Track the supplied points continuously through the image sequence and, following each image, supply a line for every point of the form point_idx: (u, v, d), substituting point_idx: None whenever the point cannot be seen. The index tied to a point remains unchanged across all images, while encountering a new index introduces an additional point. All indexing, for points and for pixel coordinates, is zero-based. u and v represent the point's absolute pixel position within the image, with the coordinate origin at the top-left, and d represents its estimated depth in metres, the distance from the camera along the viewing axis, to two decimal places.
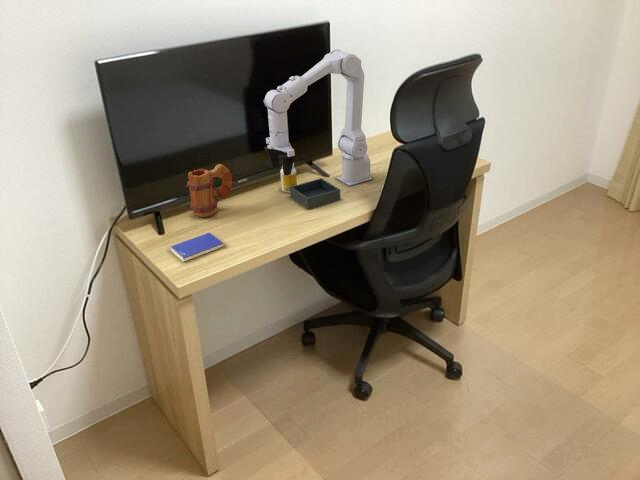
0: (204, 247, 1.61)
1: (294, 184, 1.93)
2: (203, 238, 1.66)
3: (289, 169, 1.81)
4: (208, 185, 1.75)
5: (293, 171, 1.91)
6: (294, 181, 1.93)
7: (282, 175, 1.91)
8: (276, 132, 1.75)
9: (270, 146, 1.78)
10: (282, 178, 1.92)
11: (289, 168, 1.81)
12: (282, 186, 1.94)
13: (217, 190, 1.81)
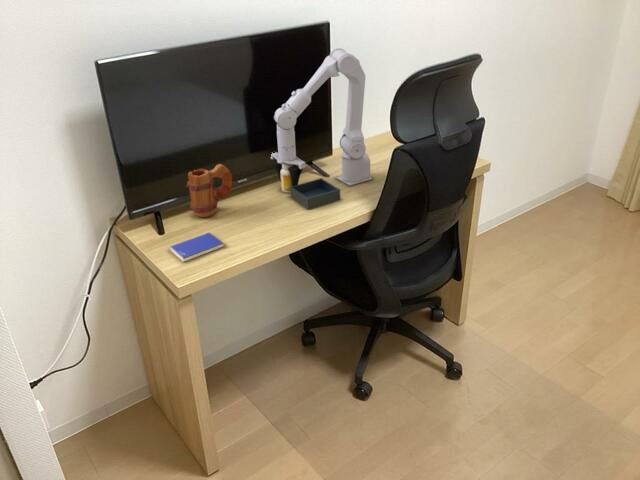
0: (204, 247, 1.61)
1: None
2: (203, 238, 1.66)
3: (297, 180, 1.92)
4: (208, 185, 1.75)
5: None
6: None
7: (282, 175, 1.91)
8: (282, 147, 1.86)
9: (280, 161, 1.88)
10: (282, 178, 1.92)
11: (297, 179, 1.92)
12: (282, 186, 1.94)
13: (217, 190, 1.81)
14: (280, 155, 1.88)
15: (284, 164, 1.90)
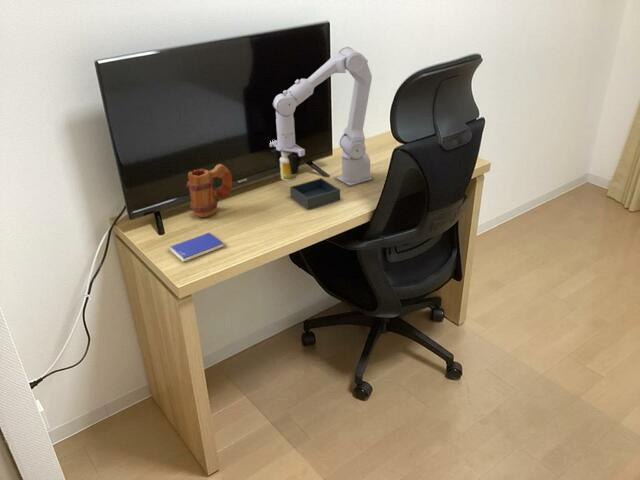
0: (204, 247, 1.61)
1: None
2: (203, 238, 1.66)
3: (296, 168, 1.90)
4: (208, 185, 1.75)
5: None
6: None
7: (281, 163, 1.89)
8: (281, 134, 1.83)
9: (279, 148, 1.86)
10: (281, 166, 1.90)
11: (296, 167, 1.90)
12: (281, 174, 1.91)
13: (217, 190, 1.81)
14: (279, 142, 1.86)
15: (283, 152, 1.88)
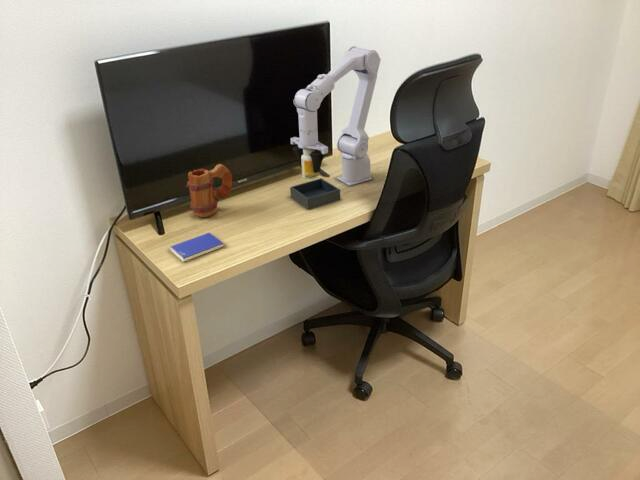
0: (204, 247, 1.61)
1: None
2: (203, 238, 1.66)
3: (318, 166, 1.83)
4: (208, 185, 1.75)
5: None
6: None
7: (303, 161, 1.82)
8: (308, 131, 1.76)
9: (301, 145, 1.79)
10: (303, 164, 1.83)
11: (318, 165, 1.83)
12: (303, 173, 1.84)
13: (217, 190, 1.81)
14: (301, 139, 1.78)
15: (305, 149, 1.81)
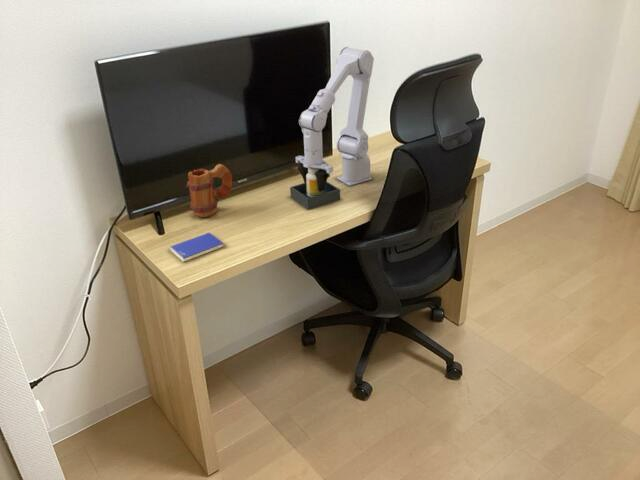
0: (204, 247, 1.61)
1: None
2: (203, 238, 1.66)
3: (323, 185, 1.85)
4: (208, 185, 1.75)
5: None
6: None
7: (308, 180, 1.84)
8: (314, 150, 1.78)
9: (307, 165, 1.81)
10: (308, 183, 1.85)
11: (323, 184, 1.85)
12: (308, 191, 1.86)
13: (217, 190, 1.81)
14: (307, 159, 1.80)
15: (310, 168, 1.83)
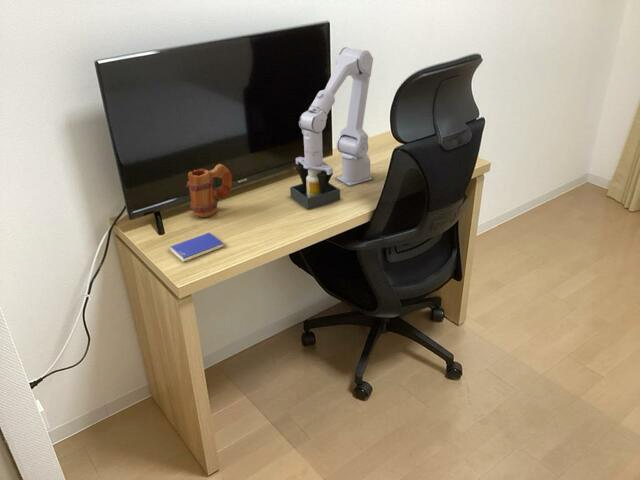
0: (204, 247, 1.61)
1: None
2: (203, 238, 1.66)
3: (325, 186, 1.85)
4: (208, 185, 1.75)
5: None
6: None
7: (308, 182, 1.84)
8: (314, 152, 1.78)
9: (307, 166, 1.81)
10: (308, 185, 1.85)
11: (325, 185, 1.84)
12: (308, 194, 1.87)
13: (217, 190, 1.81)
14: (307, 160, 1.81)
15: (310, 171, 1.84)
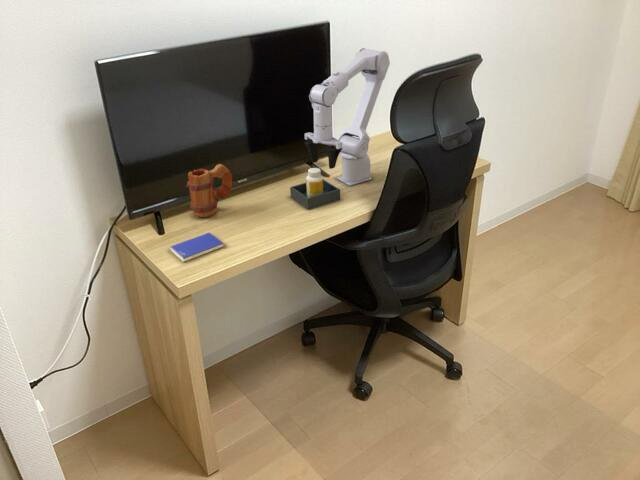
0: (204, 247, 1.61)
1: (320, 191, 1.86)
2: (203, 238, 1.66)
3: (334, 162, 1.84)
4: (208, 185, 1.75)
5: (320, 178, 1.84)
6: (321, 189, 1.86)
7: (308, 182, 1.84)
8: (324, 126, 1.78)
9: (316, 140, 1.80)
10: (308, 185, 1.85)
11: (334, 161, 1.84)
12: (308, 194, 1.87)
13: (217, 190, 1.81)
14: (316, 134, 1.80)
15: (310, 171, 1.84)
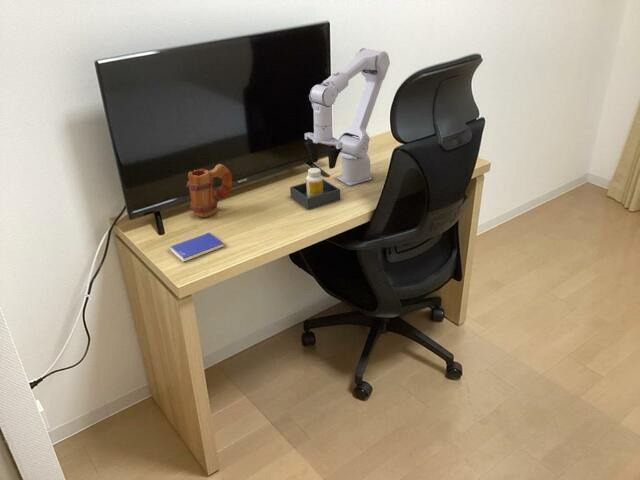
0: (204, 247, 1.61)
1: (320, 191, 1.86)
2: (203, 238, 1.66)
3: (334, 162, 1.84)
4: (208, 185, 1.75)
5: (320, 178, 1.84)
6: (321, 189, 1.86)
7: (308, 182, 1.84)
8: (324, 126, 1.78)
9: (316, 140, 1.80)
10: (308, 185, 1.85)
11: (334, 161, 1.84)
12: (308, 194, 1.87)
13: (217, 190, 1.81)
14: (316, 134, 1.80)
15: (310, 171, 1.84)
